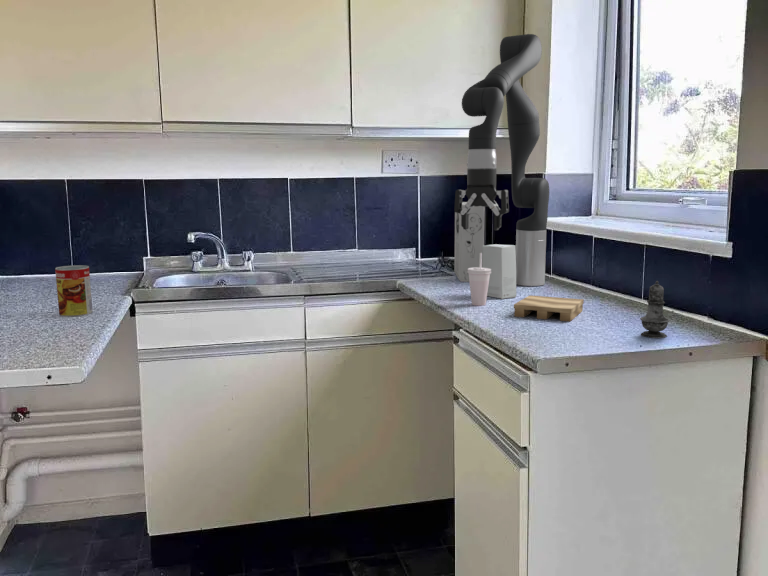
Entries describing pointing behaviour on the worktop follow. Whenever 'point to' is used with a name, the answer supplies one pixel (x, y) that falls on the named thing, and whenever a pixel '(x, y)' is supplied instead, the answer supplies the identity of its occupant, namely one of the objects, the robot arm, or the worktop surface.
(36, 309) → the worktop surface
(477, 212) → the cereal box
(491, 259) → the skincare box
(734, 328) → the worktop surface
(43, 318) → the worktop surface
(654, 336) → the salt shaker
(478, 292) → the smoothie
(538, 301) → the tan wavy panel
